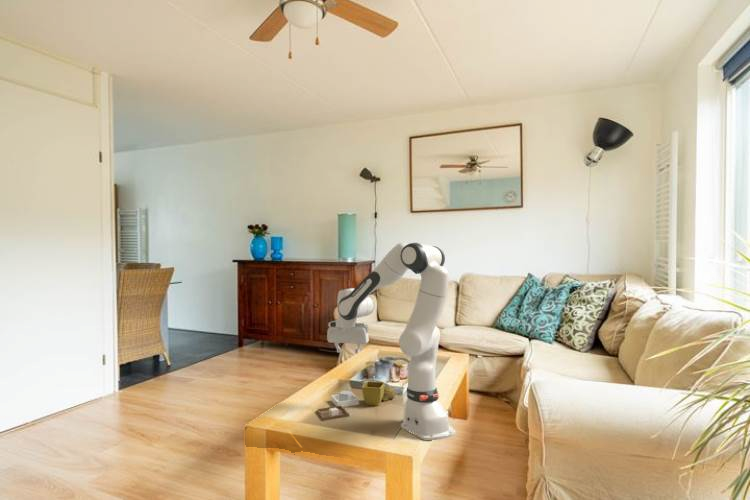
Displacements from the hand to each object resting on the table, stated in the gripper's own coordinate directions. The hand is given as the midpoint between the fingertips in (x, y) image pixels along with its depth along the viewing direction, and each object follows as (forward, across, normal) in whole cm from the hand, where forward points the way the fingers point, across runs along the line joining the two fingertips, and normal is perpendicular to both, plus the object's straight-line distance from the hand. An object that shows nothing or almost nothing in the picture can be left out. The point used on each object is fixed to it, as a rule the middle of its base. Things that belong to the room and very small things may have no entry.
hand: (348, 352), depth 187 cm
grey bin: (+23, +1, +2) cm, 23 cm away
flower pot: (+23, -12, -2) cm, 26 cm away
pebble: (+22, +1, +2) cm, 22 cm away
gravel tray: (+23, 0, +16) cm, 28 cm away
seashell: (+23, -15, -9) cm, 29 cm away
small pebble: (+22, -2, +19) cm, 29 cm away
